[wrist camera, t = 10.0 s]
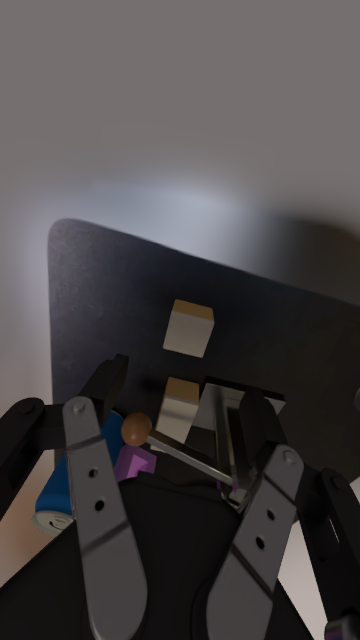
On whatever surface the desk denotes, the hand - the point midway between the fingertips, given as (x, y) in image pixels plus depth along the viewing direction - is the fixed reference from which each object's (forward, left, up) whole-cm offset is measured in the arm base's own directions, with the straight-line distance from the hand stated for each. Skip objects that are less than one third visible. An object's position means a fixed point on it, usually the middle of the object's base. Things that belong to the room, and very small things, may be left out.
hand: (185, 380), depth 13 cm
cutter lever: (+3, -11, -4) cm, 12 cm away
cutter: (+9, -11, -10) cm, 17 cm away
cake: (+1, -14, -10) cm, 17 cm away
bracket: (-4, -31, -10) cm, 33 cm away
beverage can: (-8, -20, -10) cm, 24 cm away
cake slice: (0, 0, -10) cm, 10 cm away
